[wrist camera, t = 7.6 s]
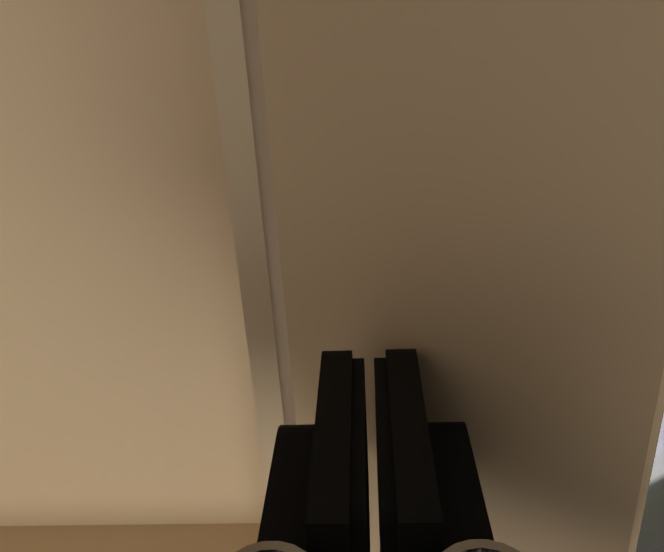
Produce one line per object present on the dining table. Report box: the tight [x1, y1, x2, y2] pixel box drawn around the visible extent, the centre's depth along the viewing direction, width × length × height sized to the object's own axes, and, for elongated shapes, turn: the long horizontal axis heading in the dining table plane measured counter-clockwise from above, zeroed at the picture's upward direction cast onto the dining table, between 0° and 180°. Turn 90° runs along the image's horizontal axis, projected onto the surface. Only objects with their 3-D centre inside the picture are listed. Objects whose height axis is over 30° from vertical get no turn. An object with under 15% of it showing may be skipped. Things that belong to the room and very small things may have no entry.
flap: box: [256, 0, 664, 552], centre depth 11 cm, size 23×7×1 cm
